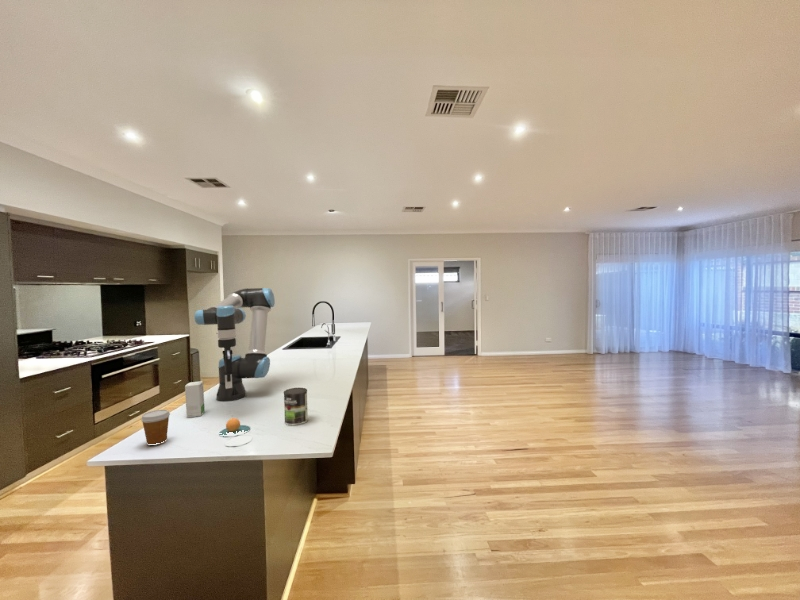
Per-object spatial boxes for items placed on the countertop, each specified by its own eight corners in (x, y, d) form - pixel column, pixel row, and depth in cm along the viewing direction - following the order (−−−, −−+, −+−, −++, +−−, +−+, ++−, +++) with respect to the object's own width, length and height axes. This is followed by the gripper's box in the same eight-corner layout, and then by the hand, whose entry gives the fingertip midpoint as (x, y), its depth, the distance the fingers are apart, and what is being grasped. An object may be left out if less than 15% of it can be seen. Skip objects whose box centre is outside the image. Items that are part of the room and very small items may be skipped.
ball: (230, 414, 148) (231, 417, 143) (242, 419, 150) (243, 422, 145) (222, 427, 146) (223, 430, 141) (235, 431, 148) (236, 435, 144)
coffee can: (299, 426, 149) (297, 394, 149) (279, 424, 153) (278, 393, 152) (312, 418, 159) (311, 388, 158) (294, 415, 162) (293, 386, 162)
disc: (229, 425, 152) (229, 425, 152) (255, 425, 152) (255, 425, 152) (212, 437, 140) (212, 436, 140) (241, 437, 140) (241, 436, 140)
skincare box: (200, 416, 165) (199, 384, 164) (185, 418, 163) (183, 386, 162) (205, 410, 173) (203, 380, 172) (190, 412, 171) (188, 381, 170)
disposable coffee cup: (146, 440, 139) (144, 411, 139) (173, 435, 143) (172, 407, 142) (138, 450, 130) (137, 419, 130) (168, 445, 134) (167, 415, 134)
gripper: (216, 337, 164) (218, 386, 165) (218, 340, 153) (221, 392, 154) (234, 336, 168) (235, 383, 169) (237, 339, 157) (239, 389, 158)
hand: (228, 387), depth 162 cm, fingers closed
